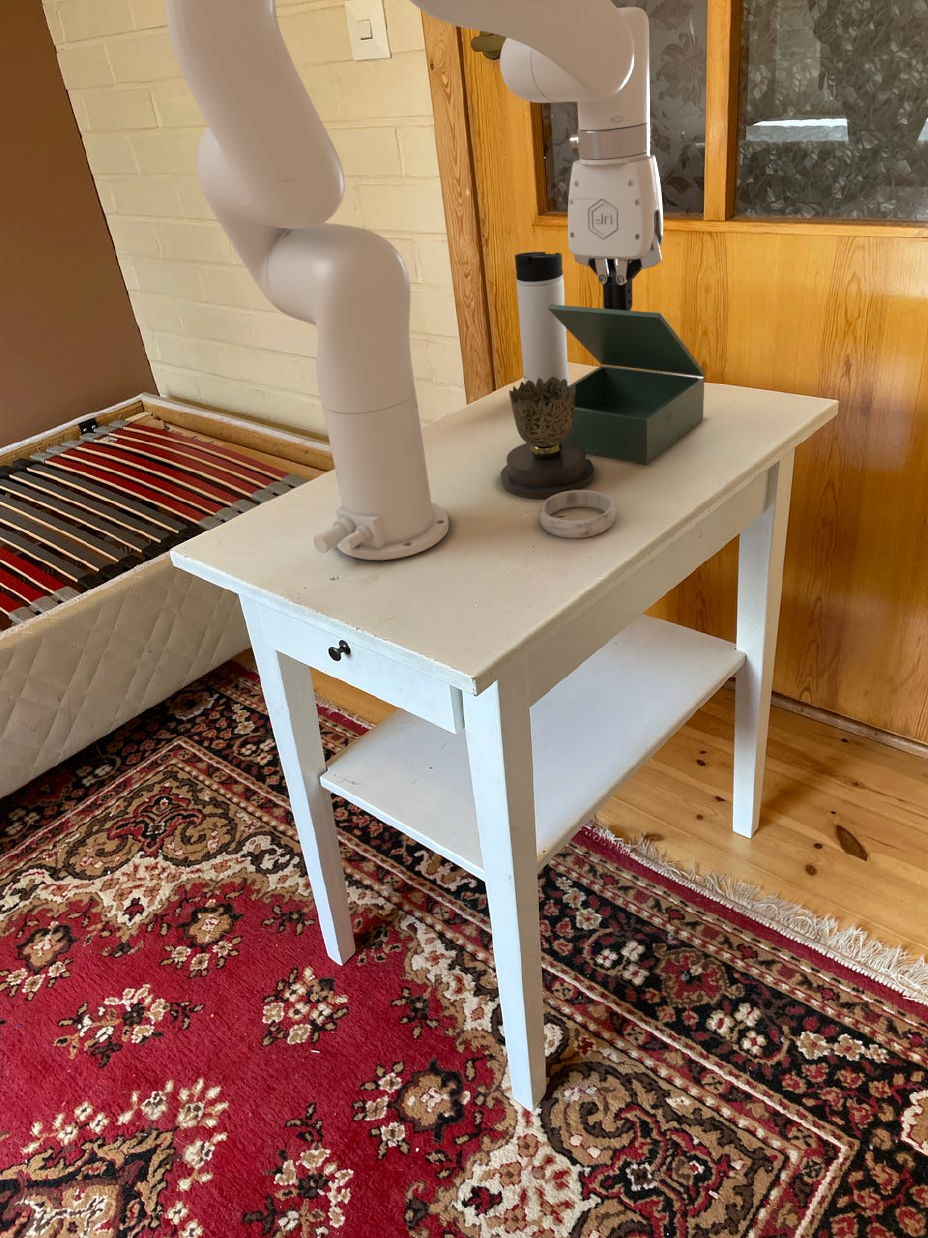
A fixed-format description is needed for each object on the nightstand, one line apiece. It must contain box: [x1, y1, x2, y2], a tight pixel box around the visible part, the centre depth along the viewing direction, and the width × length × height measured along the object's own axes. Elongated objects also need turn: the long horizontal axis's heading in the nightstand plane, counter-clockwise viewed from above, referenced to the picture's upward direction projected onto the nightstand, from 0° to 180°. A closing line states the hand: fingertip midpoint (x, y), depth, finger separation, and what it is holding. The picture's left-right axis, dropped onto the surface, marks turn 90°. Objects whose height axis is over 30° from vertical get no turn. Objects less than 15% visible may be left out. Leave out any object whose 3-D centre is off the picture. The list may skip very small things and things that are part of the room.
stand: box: [499, 440, 596, 500], centre depth 109 cm, size 11×11×3 cm
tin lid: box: [548, 304, 706, 377], centre depth 114 cm, size 16×15×1 cm
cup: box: [508, 377, 576, 459], centre depth 107 cm, size 8×7×8 cm
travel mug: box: [514, 251, 570, 387], centre depth 128 cm, size 6×7×20 cm
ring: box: [538, 489, 617, 539], centre depth 100 cm, size 8×8×2 cm
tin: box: [565, 364, 705, 465], centre depth 118 cm, size 15×15×6 cm
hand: (618, 315), depth 111 cm, fingers closed
